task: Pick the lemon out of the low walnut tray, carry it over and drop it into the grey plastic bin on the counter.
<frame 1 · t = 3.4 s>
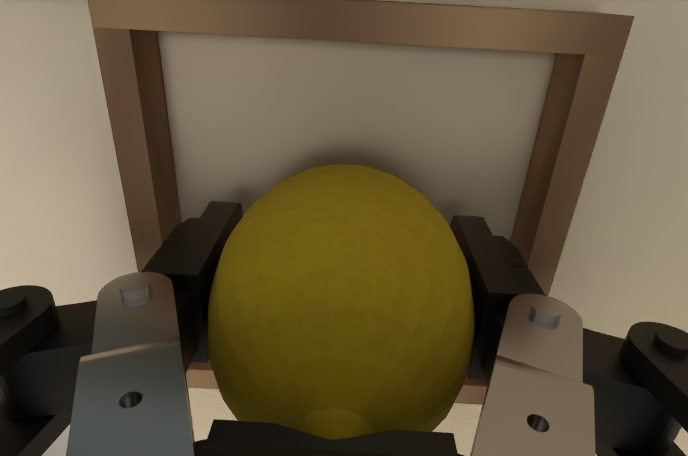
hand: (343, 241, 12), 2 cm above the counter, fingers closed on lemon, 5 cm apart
tray: (346, 216, 14), on the counter
lemon: (346, 213, 14), resting in tray, touching gripper
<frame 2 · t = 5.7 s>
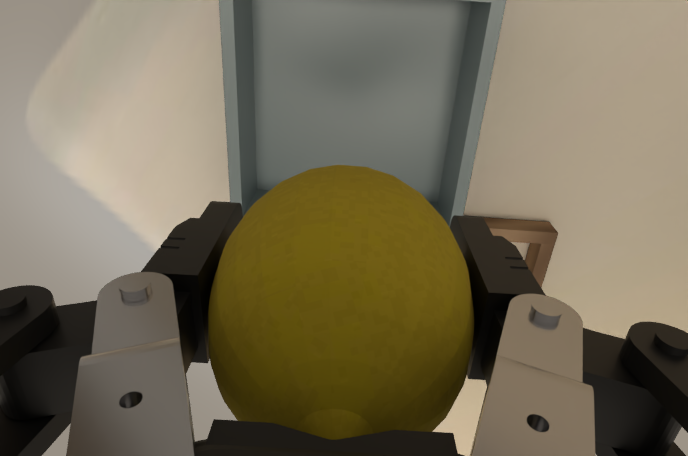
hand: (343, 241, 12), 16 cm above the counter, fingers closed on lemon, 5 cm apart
tray: (442, 291, 32), on the counter
bin: (353, 101, 26), on the counter
lemon: (346, 213, 14), point 14 cm above the counter, touching gripper
when the fingers open (4 cm above the counter, at t = 7.9 s): lemon drops 2 cm, resting on bin.
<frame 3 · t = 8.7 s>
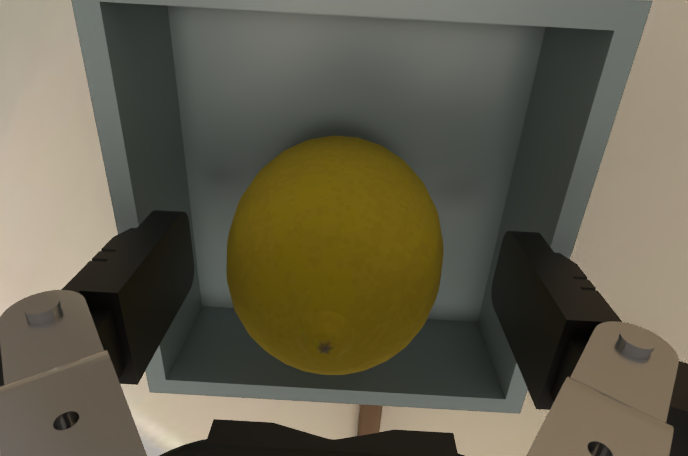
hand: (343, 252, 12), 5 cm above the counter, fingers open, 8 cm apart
tray: (479, 429, 22), on the counter
bin: (347, 179, 16), on the counter
lemon: (344, 185, 16), resting on bin
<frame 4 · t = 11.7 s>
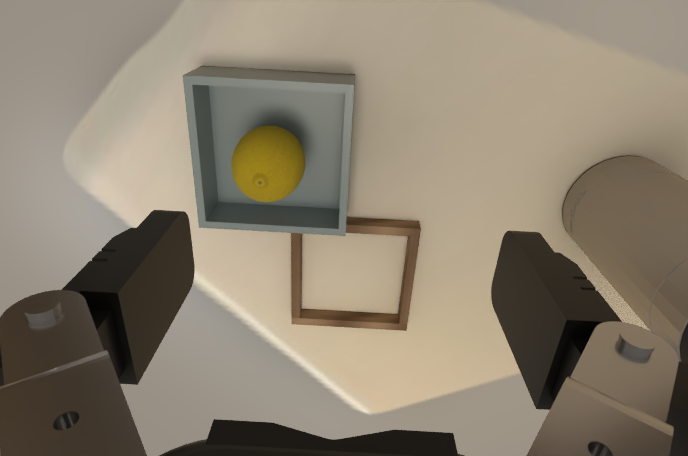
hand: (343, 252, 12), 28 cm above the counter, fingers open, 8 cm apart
tray: (352, 270, 45), on the counter
bin: (279, 144, 40), on the counter
lemon: (277, 146, 39), resting on bin
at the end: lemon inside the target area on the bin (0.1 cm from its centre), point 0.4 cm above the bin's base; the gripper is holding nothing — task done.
